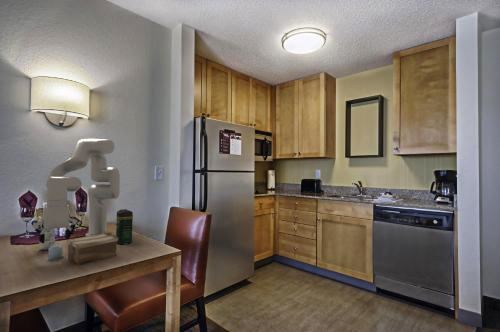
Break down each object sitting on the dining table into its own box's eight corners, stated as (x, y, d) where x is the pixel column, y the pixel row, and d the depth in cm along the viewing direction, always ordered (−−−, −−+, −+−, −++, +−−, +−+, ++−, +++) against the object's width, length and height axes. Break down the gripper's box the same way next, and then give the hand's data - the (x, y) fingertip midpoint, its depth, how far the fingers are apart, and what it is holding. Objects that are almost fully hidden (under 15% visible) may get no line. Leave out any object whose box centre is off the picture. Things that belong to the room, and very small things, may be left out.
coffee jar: (133, 243, 148) (134, 210, 148) (118, 245, 143) (119, 211, 143) (129, 239, 155) (129, 208, 155) (114, 241, 150) (115, 209, 150)
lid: (67, 243, 120) (67, 236, 121) (104, 236, 134) (105, 230, 134) (78, 248, 113) (78, 241, 113) (117, 240, 126) (117, 234, 126)
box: (68, 258, 120) (68, 243, 121) (104, 250, 133) (104, 236, 133) (79, 264, 113) (79, 248, 113) (116, 255, 126) (116, 241, 126)
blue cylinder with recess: (46, 258, 121) (47, 247, 121) (59, 255, 125) (60, 245, 125) (50, 260, 118) (51, 249, 118) (64, 257, 122) (64, 247, 122)
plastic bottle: (46, 251, 130) (47, 211, 130) (35, 250, 131) (36, 210, 132) (58, 247, 136) (59, 209, 137) (47, 246, 138) (48, 208, 138)
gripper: (74, 201, 131) (73, 236, 130) (30, 204, 117) (28, 243, 116) (80, 202, 127) (79, 238, 126) (36, 205, 113) (34, 246, 112)
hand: (55, 240), depth 121 cm, fingers open, 9 cm apart
